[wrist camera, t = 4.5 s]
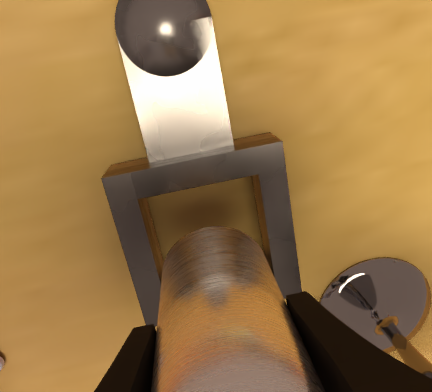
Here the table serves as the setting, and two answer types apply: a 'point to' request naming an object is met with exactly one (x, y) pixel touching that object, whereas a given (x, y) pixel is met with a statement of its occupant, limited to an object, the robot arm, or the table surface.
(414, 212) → the table surface
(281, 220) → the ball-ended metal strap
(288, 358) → the steel pin
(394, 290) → the wine glass
